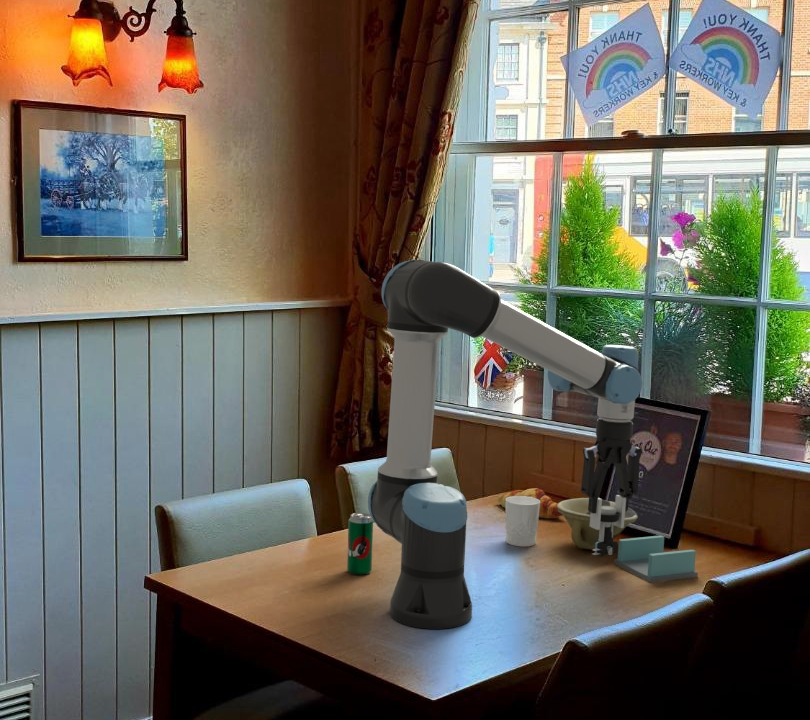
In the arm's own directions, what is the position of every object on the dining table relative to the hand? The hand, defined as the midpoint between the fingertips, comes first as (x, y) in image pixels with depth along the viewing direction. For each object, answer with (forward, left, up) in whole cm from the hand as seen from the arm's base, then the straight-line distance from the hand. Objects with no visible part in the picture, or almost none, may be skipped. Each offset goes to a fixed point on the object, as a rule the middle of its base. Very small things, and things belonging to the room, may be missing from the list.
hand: (606, 526), depth 224 cm
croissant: (+8, +46, -10) cm, 48 cm away
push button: (-1, 0, -6) cm, 6 cm away
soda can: (-50, +14, -10) cm, 53 cm away
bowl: (+8, +15, -10) cm, 19 cm away
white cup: (-7, +23, -10) cm, 26 cm away
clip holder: (+11, -4, -9) cm, 15 cm away
